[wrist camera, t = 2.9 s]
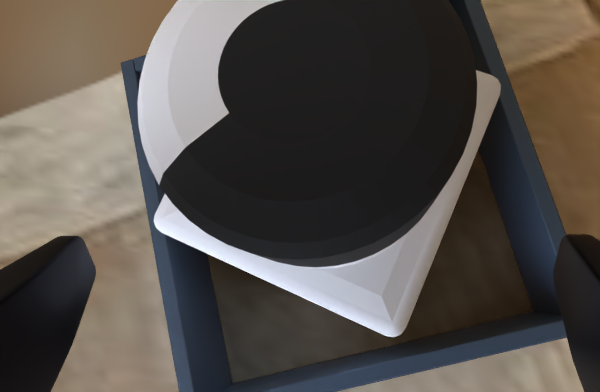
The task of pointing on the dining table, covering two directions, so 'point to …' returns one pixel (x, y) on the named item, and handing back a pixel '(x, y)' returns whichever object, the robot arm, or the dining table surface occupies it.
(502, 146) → the caddy
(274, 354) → the dining table surface
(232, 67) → the medicine bottle
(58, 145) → the dining table surface
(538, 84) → the dining table surface
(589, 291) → the robot arm
